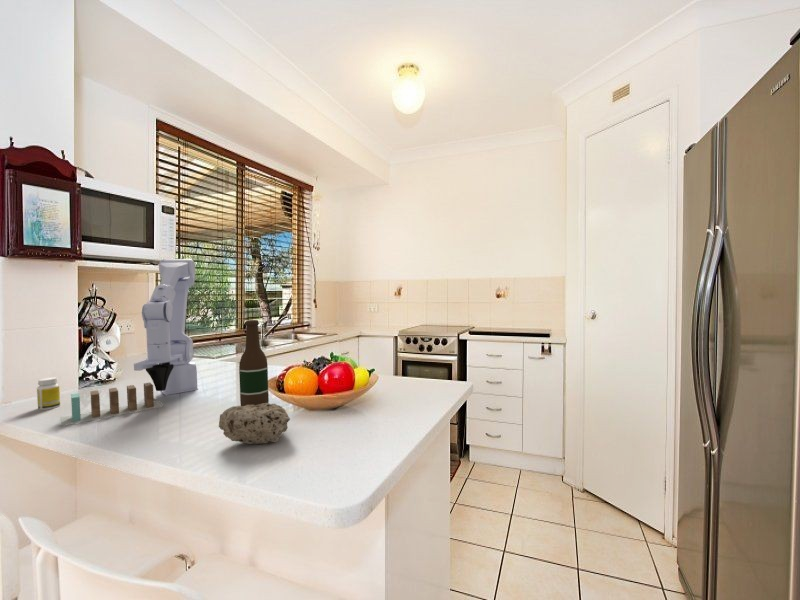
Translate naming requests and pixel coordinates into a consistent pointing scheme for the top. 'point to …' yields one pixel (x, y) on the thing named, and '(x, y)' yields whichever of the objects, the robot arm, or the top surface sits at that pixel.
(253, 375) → the beer bottle
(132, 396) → the tile
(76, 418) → the tile
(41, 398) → the supplement bottle
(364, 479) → the top surface
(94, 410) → the tile
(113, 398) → the tile
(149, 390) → the tile
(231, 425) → the pumice stone
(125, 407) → the runner mat
